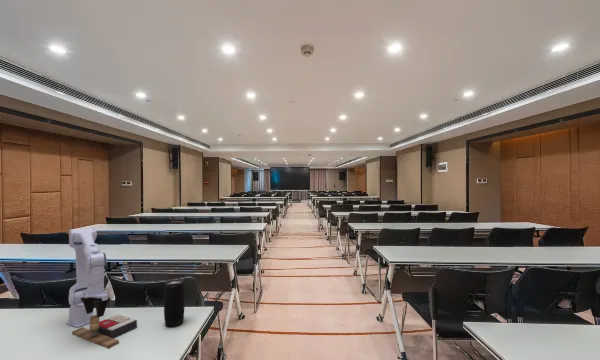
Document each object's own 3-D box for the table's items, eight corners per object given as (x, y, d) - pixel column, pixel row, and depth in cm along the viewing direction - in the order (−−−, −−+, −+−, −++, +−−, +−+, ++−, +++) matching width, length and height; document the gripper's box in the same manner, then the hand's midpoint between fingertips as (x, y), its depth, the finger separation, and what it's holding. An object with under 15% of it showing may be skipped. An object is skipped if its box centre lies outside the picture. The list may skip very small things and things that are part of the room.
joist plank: (72, 334, 119) (72, 331, 119) (82, 329, 123) (82, 327, 123) (108, 348, 108) (108, 345, 108) (118, 343, 112) (118, 340, 112)
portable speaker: (185, 317, 134) (185, 277, 134) (183, 327, 125) (183, 283, 125) (165, 320, 131) (166, 279, 132) (162, 330, 122) (162, 285, 123)
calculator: (118, 313, 132) (137, 318, 125) (118, 322, 131) (137, 328, 124) (92, 323, 122) (111, 329, 115) (92, 333, 122) (111, 340, 115)
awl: (88, 336, 115) (88, 317, 115) (96, 333, 118) (96, 314, 118) (92, 338, 113) (92, 319, 113) (100, 334, 116) (100, 315, 116)
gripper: (75, 282, 116) (74, 315, 115) (95, 287, 109) (94, 322, 109) (93, 277, 122) (93, 308, 122) (113, 282, 116) (113, 314, 115)
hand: (95, 314), depth 116 cm, fingers open, 7 cm apart
